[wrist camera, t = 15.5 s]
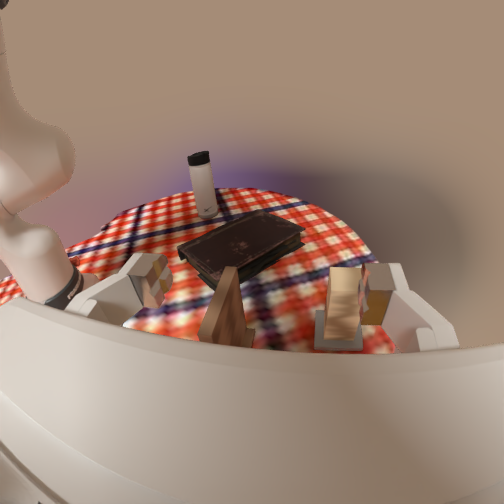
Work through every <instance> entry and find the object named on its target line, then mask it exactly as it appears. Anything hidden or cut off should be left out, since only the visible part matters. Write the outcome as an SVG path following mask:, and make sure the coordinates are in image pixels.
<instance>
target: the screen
mask: <svg viewBox="0 0 504 504" xmlns="http://www.w3.org/2000/svg"><path fill="white" fill-rule="evenodd" d="M197 335H198V337H199V340H200V342H206V343H213V344H220V345H228V346H236V347H245V348H251V347H252V343H253V339H254V335H255V329H249V328H247V327H246V321H245V315H244V309H243V303H242V297H241V290H240V284H239V278H238V271H237V267H229V266H226V267H225V269H224V271H223V274H222V276H221V278H220V281H219V283H218V285H217V288H216V290H215V293H214V295H213V297H212V300H211V302H210V305H209V307H208V309H207V312H206V314H205V317H204V319H203V321H202V324H201V326H200V329H199V331H198V334H197Z"/></svg>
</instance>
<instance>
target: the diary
mask: <svg viewBox="0 0 504 504" xmlns="http://www.w3.org/2000/svg"><path fill="white" fill-rule="evenodd" d="M304 230H305V228H303V227H301V226H299V225H297V224H294V223H292V222H290V221H288V220H285V219H283V218H281V217H278V216H275V215H272V214H270V213H267V212H264V211H261V210H259V209H257V210H255V211H253V212H251V213H249V214H247V215H245V216H243V217H241V218H239V219H236V220H234V221H232V222H229V223H227V224H224V225H222V226H220V227H218V228H216V229H214V230H212V231H210V232H208V233H206V234H204V235H202V236H200V237H198V238H195V239H193V240H191V241H189V242H186V243H184V244H182V245H179V246H177V250H178V254H179V257H180V260H181V261H182V260H184V259H187V262H189V263H190V264H191V265H192V266H193V267H194V268H195V269H196V270H197V271H198V272H200V274H198V276H199V277H200V278H201V279H202V280H203V281H204V282H205V283H206V284H207V285H208V286H209V287H210V288H211V289H213V290H214V291H215V290H216V288H217V285H218V283H219V281H220V278H221V276H222V274H223V271H224V269H225V267H226V266H229V267H237V271H238V278H239V284H242V283H243V282H245V281H247V280H248V279H250V278H252V277H253V276H255V275H256V274H258V273H260V272H261V271H263V270H264V269H266V268H267V267H269V266H271V265H273V264H275V263H276V262H278V261H279V260H278V259H280V258H281V257H283V256H285V255H287V254H289V253H291V252H293V251H295V250H297V249H299V248H301V247H302V246H304V245H305V244H304V243H302V242H300V232H302V231H304ZM276 260H278V261H276ZM187 262H186V263H187Z"/></svg>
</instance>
